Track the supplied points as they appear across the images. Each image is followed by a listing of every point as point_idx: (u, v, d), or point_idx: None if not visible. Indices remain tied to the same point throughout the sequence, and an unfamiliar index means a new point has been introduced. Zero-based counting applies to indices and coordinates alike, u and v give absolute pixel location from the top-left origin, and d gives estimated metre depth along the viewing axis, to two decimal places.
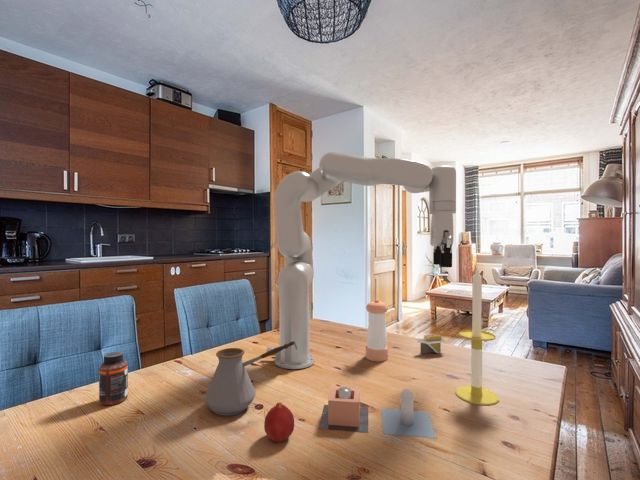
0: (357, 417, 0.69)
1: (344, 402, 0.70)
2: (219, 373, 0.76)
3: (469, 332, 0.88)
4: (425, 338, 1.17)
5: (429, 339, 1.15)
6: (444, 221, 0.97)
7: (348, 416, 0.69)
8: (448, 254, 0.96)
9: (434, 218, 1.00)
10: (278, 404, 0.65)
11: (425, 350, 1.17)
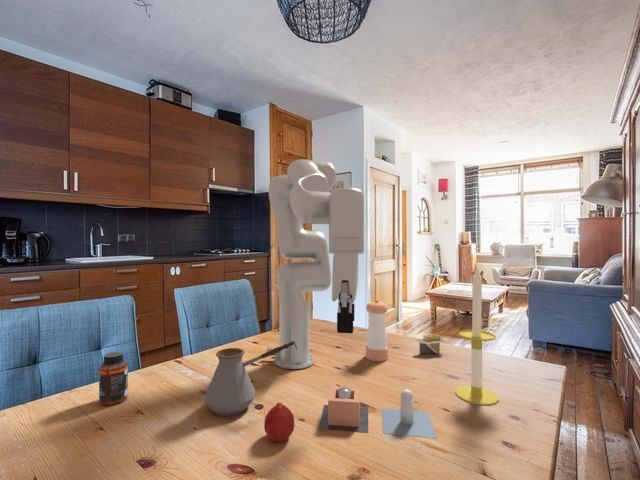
0: (357, 417, 0.69)
1: (344, 402, 0.70)
2: (219, 373, 0.76)
3: (469, 332, 0.88)
4: None
5: (428, 339, 1.15)
6: (342, 267, 0.68)
7: (348, 416, 0.69)
8: (347, 315, 0.67)
9: None
10: (278, 404, 0.65)
11: (424, 350, 1.17)
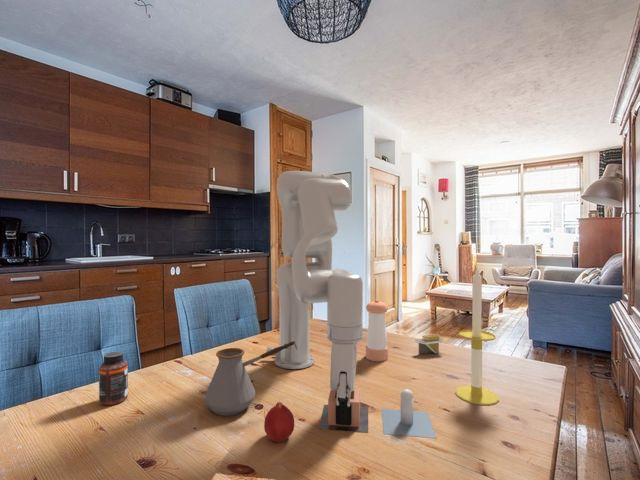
0: (357, 417, 0.69)
1: None
2: (219, 373, 0.76)
3: (469, 332, 0.88)
4: None
5: (427, 339, 1.15)
6: (340, 358, 0.68)
7: None
8: (345, 408, 0.68)
9: None
10: (278, 404, 0.65)
11: (423, 350, 1.17)
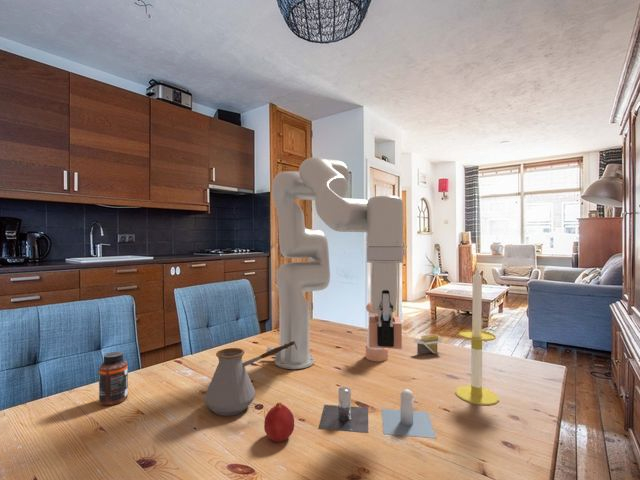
0: (399, 339, 0.68)
1: None
2: (219, 373, 0.76)
3: (469, 332, 0.88)
4: (422, 338, 1.16)
5: (426, 339, 1.15)
6: (383, 277, 0.67)
7: None
8: (387, 329, 0.67)
9: None
10: (278, 404, 0.65)
11: (422, 351, 1.16)
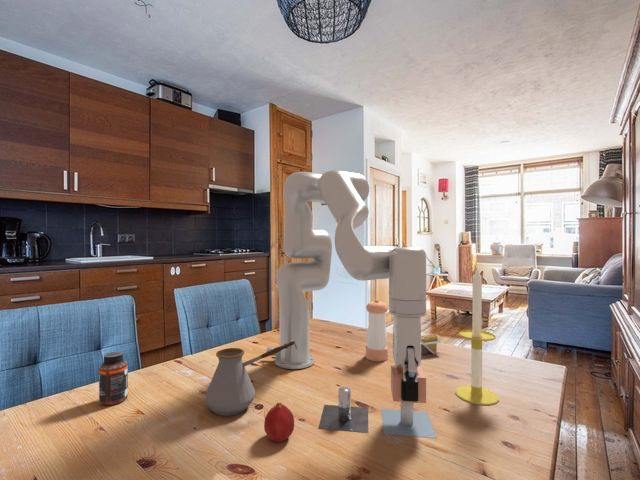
0: (424, 393, 0.67)
1: None
2: (219, 373, 0.76)
3: (469, 332, 0.88)
4: (421, 339, 1.16)
5: (425, 340, 1.15)
6: (407, 332, 0.66)
7: None
8: (412, 384, 0.66)
9: (395, 323, 0.69)
10: (278, 404, 0.65)
11: (421, 351, 1.16)
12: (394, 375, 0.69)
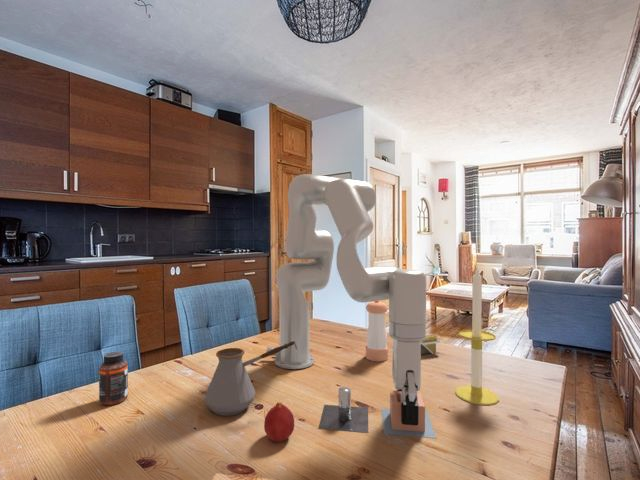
0: (423, 422, 0.68)
1: None
2: (219, 373, 0.76)
3: (469, 332, 0.88)
4: None
5: (425, 340, 1.15)
6: (407, 357, 0.66)
7: None
8: (412, 408, 0.65)
9: (394, 346, 0.69)
10: (278, 404, 0.65)
11: None
12: (393, 403, 0.69)
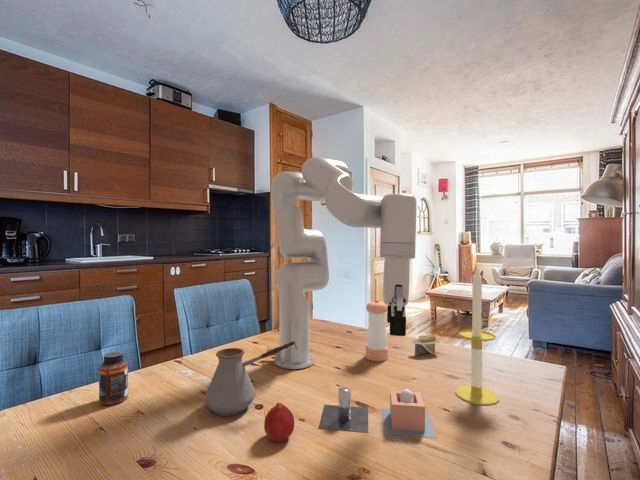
0: (423, 422, 0.68)
1: (409, 406, 0.68)
2: (219, 373, 0.76)
3: (469, 332, 0.88)
4: (419, 339, 1.16)
5: (424, 340, 1.14)
6: (396, 272, 0.70)
7: (413, 421, 0.68)
8: (400, 319, 0.69)
9: (385, 265, 0.73)
10: (278, 404, 0.65)
11: (419, 351, 1.16)
12: (393, 403, 0.69)
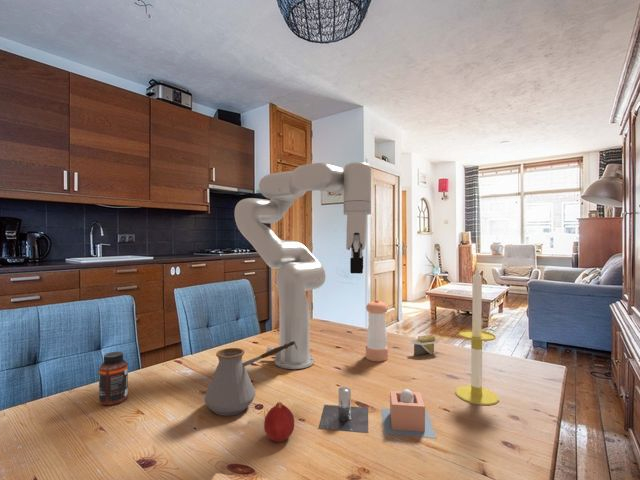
0: (423, 422, 0.68)
1: (409, 406, 0.68)
2: (219, 373, 0.76)
3: (469, 332, 0.88)
4: (419, 339, 1.16)
5: (423, 340, 1.14)
6: (354, 223, 0.88)
7: (413, 421, 0.68)
8: (358, 259, 0.87)
9: None
10: (278, 404, 0.65)
11: (419, 351, 1.16)
12: (393, 403, 0.69)
